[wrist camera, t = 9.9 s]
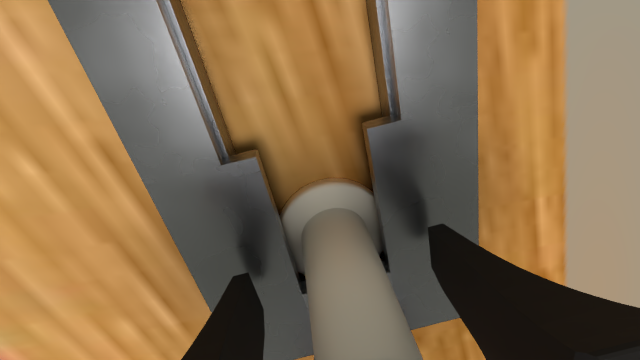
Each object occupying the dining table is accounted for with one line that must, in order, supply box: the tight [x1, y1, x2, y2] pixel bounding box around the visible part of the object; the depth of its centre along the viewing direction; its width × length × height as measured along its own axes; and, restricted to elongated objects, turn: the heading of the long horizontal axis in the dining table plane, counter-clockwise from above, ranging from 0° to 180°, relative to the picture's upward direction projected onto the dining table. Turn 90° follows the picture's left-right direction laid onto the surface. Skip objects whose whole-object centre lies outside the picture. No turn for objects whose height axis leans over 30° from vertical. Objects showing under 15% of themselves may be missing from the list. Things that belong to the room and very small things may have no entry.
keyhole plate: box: [48, 0, 479, 360], centre depth 13 cm, size 20×12×2 cm, turn 13°
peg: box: [280, 178, 423, 360], centre depth 12 cm, size 5×5×8 cm
